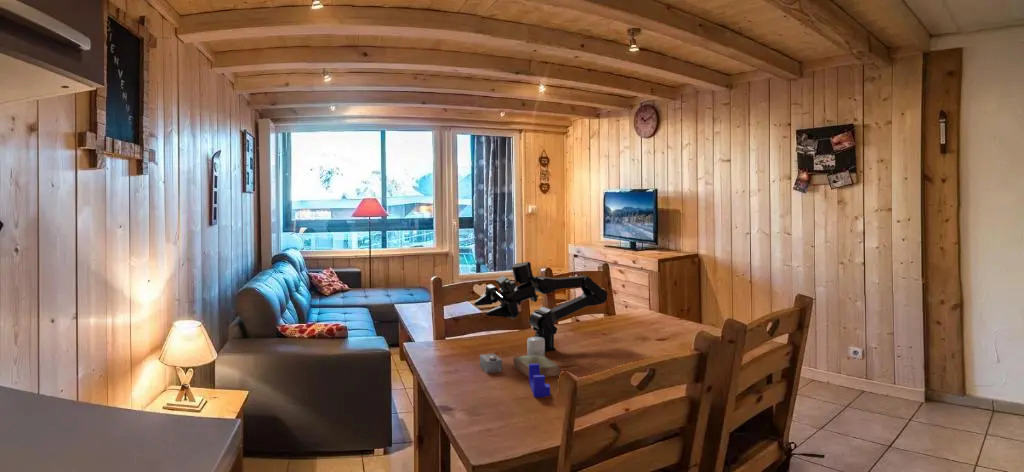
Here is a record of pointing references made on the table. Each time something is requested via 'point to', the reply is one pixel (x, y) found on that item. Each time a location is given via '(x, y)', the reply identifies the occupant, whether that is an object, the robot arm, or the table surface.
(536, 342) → the light grey rounded cylinder
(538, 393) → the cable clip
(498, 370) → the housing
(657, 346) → the table surface
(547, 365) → the stand
